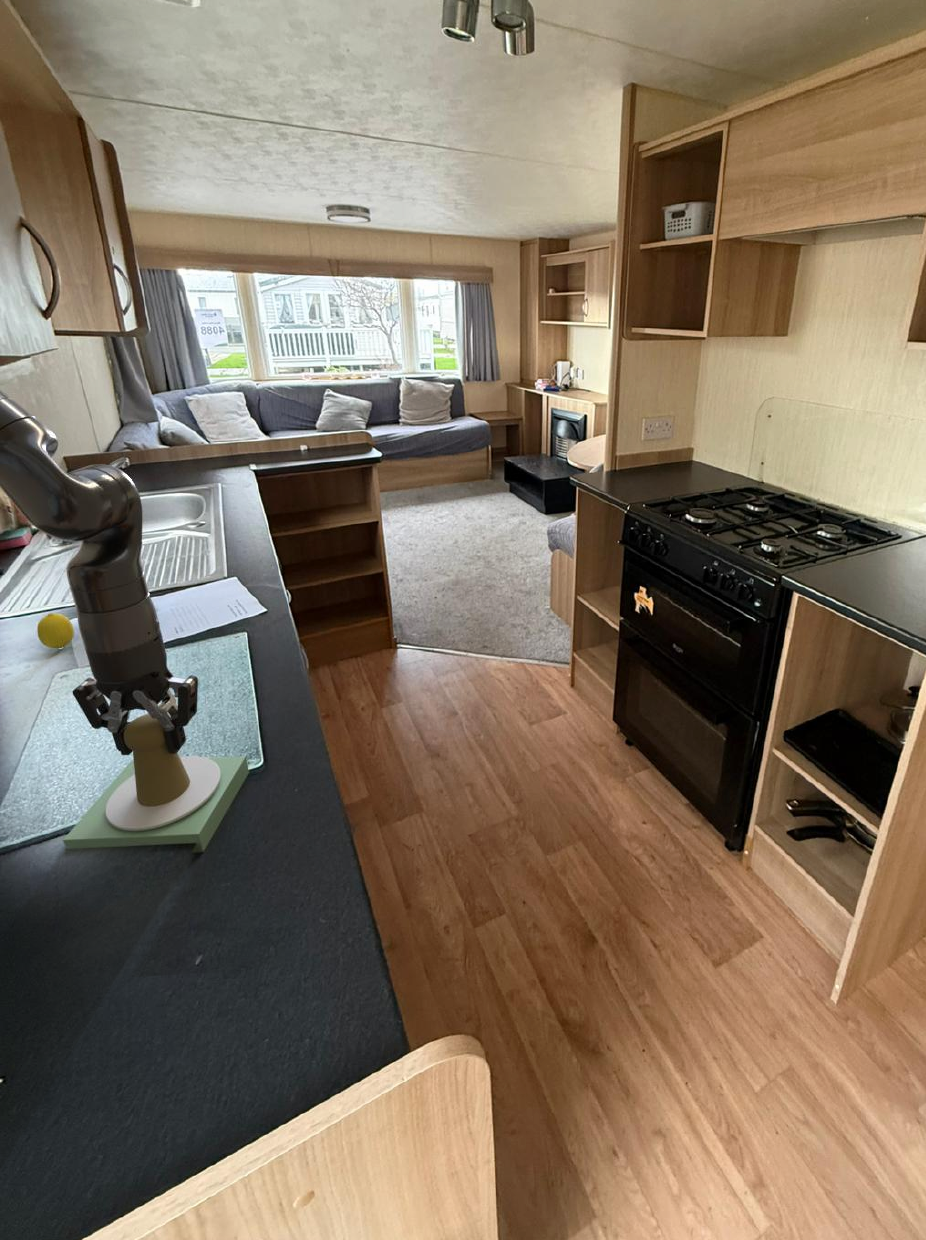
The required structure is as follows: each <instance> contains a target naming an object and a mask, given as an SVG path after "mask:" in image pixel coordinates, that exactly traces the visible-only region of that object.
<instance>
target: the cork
mask: <svg viewBox="0 0 926 1240" xmlns="http://www.w3.org/2000/svg"><path fill="white" fill-rule="evenodd" d="M129 722H130V723H129V724H128V725H127V727H126V729H125V731H124V741H125V744H126V745H127V746H128V748H130V749H131V750H133V751H132V758H133V760H134V770H135V781H136V792H137V800H138V803H140V804H141V805H143V806H147V807H153V806H159V805H163V804H166V803H168V802H171V801H173V800H174V799H176V798H178V797H179V796H181V795H182V794H183V793H184V792H185V791H186V790H187V788H188V787H189V784H190V779H189V776H188V774H187V772H186V770H185V768H184V765H183V763H182V761H181V759H180V757H181V756H180V754H179V751H178V752H177V753H176V754H169V751H168V748H167V744H166V740H165V736H164V732H163V731H164V730H165V729H164V728H163V726H162V725H161V724H160V722H159V721H158V720H157V719H153V718H152V717H151V716H150V715H149V713H146V714H143V715H140V716H138V717H136V718H134V719H133V720H131V721H129Z"/></svg>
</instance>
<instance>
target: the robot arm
mask: <svg viewBox="0 0 926 1240" xmlns="http://www.w3.org/2000/svg"><path fill="white" fill-rule="evenodd" d="M58 440H59V439H58V438H57V436H56V434H55V433H54V432H53V431H52V430H51V429H50V428H49V427H47V425H45V424H44V423H43V422H42V421H40V420H39V419H38V418H36V417H35V415H33V414H32V413H31V412H29V411H28V410H26V409H25V408H24V407H22V405H20V404H19V403H18V402H17V401H16V400H14V399H13V398H12V397H10V396H9V395H7V393H5V392H4V391H3V390H1V389H0V489H1V490H2V492H3V493H4V494H5V495H6V496H7V498H8V499H9V500H10V502H11V503H12V504H13V505H14V506H15V508H16V509H17V511H19V512H20V514H21V515H22V516H23V517H24V519H26V520H27V522H28V523H30V524H31V525H32V526H33V527H34V528H36V529H37V530H38V531H40V532H42V533H43V534H45V535H48V536H49V537H52V538H54V539H58V540H60V541H65V542H81V546H80V547H79V550H78V551H77V552H76V554H75V555H73V557H72V558H71V559H70V560H69V562H68V563H67V566H66V578H67V582H68V585H69V590H70V593H71V597H72V599H73V600H72V601H73V603H74V606H75V609H76V616H77V626H78V629H79V633H80V636H81V640H82V643H83V647H84V650H85V653H86V657H87V660H88V664H89V667H90V671H91V674H92V677H93V678H92V677H87V678H86V679H85V680H84V681H83V682H81V683H80V684H79V685H77V686H76V687H75V688H74V689H73V690H72V695H73V697H74V699H75V701H76V702H77V705H79V707H80V709H81V711H82V713H83V714H84V716H85V717H86V718H85V719H86V720H87V721H88V723H89V724H90V726H91V728H93V729H94V730H99V729H101V728H103V729H107V731H108V732H109V733H111V735H112V740H113V742H114V745H115V748H116V750H117V751H118V752H120V754H121V756H130V755H131V754H133V750H131V749H130V748H128V746H127V745H126V744H125V741H124V731H125V729H126V727H127V725H128V724H129V723H130V722H131V721H129V719H130V716H131V711H134V710H140V711H146V713H147V714H149V715H150V716H151V717H152V718H153V719H157V720H158V721H159V722H160V724H161V725H162V726H163V728H164V729H165V730H164V731H163V732H164V736H165V740H166V744H167V748H168V751H169V754H176V753H177V752H178V753H179V751H180V750H181V748H183V746H184V745H185V743H186V741H187V736H186V732H185V727H186V726H187V725H188V724H189V723H190V721H191V720H192V718H193V717H195V716H196V714H197V713H198V692H199V691H198V689H199V679H198V677H197V676H196V675H193V674H192V675H189V676H188V677H187V678H183V677H182V678H181V677H177V676H175V677H174V674H173V673H172V671H170V670H169V667H168V655H167V651H166V645H165V642H164V639H163V635H162V630H161V626H160V621H159V618H158V614H157V610H156V607H155V605H154V602H153V600H152V598H151V596H150V592H149V587H148V584H147V580H146V576H145V571H144V568H143V565H142V559H141V557H142V549H143V548H142V547H143V517H144V515H143V504H142V500H141V495H140V493H139V490H138V489H137V486H136V484H135V483H134V481H133V480H132V479H131V477H130V476H128V474H127V473H125V472H124V471H123V470H121V469H120V468H118V467H116V466H113V465H110V464H105V463H104V464H103V463H98V464H97V463H96V464H90V465H87V466H83V467H81V468H77V469H74V470H71V471H69V472H66V471H65V470H63V469H62V468H61V467H60V466H59V465H58V464H57V463H56V462H55V461H54V459H53V457H54V456H55V454H56V452H57V451H58V446H59V441H58ZM170 689H172V691H173V693H174V694H173V693H172V692H171V690H170ZM106 698H107V699H108V700H109V701H110V702H108V701H107V699H106ZM176 702H177V704H176ZM160 703H161V704H160Z"/></svg>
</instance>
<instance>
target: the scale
mask: <svg viewBox="0 0 926 1240" xmlns="http://www.w3.org/2000/svg"><path fill="white" fill-rule="evenodd" d="M179 757H180V759H181V761H182V763H183V765H184V768H185V770H186V772H187V774H188V776H189V779H190V784H189V787H188V788H187V790H186V791H185V792H184V793H183V794H182V795H181V796H179V797H178V798H176V799H174V800H173V801H171V802H168V803H166V804H163V805H159V806H153V807H147V806H143V805H141V804H140V803H138V800H137V792H136V781H135V770H134V759H133V760H130V761H129V762H128V764H127V765H126V766H125V768H123V770H122V771H121V772H120V773H119V774H118V775H117V776H116V778H114V780H113V781H112V782H111V783H110V785H109V786H108V787H107V788H106V789H105V791H104V792H102V794H101V795H100V796H99V797H98V798H97V800H96V801H95V802H94V803H93V804H92V805H91V807H90V808H89V809H88V810H87V812H86V813H85V814H83V816H82V817H81V818H80V820H79V821H78V822H77V823H76V824H75V825H74V826H73V827H72V829H71V830H70V831H69V832H68V833H67V834H66V836H65V837H64V838H63V839H62V842H63V844H64V847H65V850H66V849H67V850H72V849H95V848H113V847H136V846H157V845H180V844H181V845H183V844H195V845H194V847H193V848H192V850H191V852H190V853H191V854H195V853H204V852H205V850H206V848H207V847H208V845H209V844H210V841H211V840H212V838H213V836H214V834H215V833H216V832H217V830H218V828H219V826H220V825H221V822H222V821H223V819H224V817H225V815H226V814H227V812H228V810H229V809H230V807H231V805H232V803H233V802H234V800H235V799H236V796H237V795H238V793H239V791H240V789H241V788H242V786H243V784H244V782H245V781H246V779H247V777H248V775H249V774H250V770H249V766H248V765H249V764H248V759H247V756H246V755H243V756H241V755H240V756H218V757H217V756H216V757H215V756H214V757H213V756H212V757H205V756H199V755H186V756H179Z"/></svg>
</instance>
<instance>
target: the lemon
mask: <svg viewBox="0 0 926 1240" xmlns="http://www.w3.org/2000/svg"><path fill="white" fill-rule="evenodd" d="M36 633H37V637H38V639H39V641H40V643H41V644H42V645H44V646H45V647H47V648H50V649H57V648H62V647H64V646H65V647H66V646H67V645H69V644H70V643H71V642H72V641H73V639H74V635H75V628H74V626H73V623H72V622H71V620H70V619H69V618H68V617H67V616H66V615H64V614H61V613H53V612H50V613H48V614H47V615H46V616H44V617H42V618H41V620H40V621H38V624H37V631H36ZM65 647H64V648H65Z"/></svg>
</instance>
